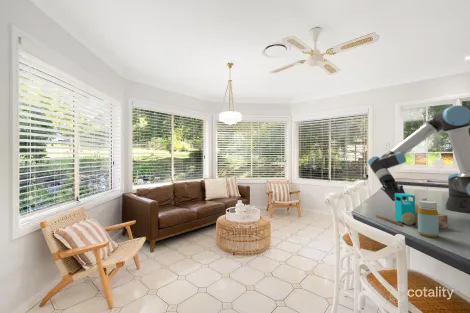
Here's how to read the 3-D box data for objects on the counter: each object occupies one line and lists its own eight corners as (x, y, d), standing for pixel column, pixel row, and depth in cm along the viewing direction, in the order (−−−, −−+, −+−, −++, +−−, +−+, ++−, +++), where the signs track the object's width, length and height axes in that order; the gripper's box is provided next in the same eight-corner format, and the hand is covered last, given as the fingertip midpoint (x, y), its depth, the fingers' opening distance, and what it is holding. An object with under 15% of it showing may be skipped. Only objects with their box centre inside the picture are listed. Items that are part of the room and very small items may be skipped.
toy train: (438, 225, 116) (438, 195, 115) (402, 224, 118) (402, 195, 118) (428, 221, 123) (427, 193, 123) (394, 220, 126) (394, 193, 126)
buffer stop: (438, 225, 117) (438, 213, 117) (447, 227, 112) (447, 215, 112) (412, 226, 115) (412, 214, 115) (421, 229, 111) (420, 216, 111)
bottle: (414, 232, 106) (413, 200, 106) (428, 232, 107) (427, 199, 107) (428, 238, 99) (427, 203, 99) (443, 237, 100) (442, 202, 100)
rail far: (377, 217, 134) (377, 214, 134) (403, 226, 116) (403, 223, 116) (375, 217, 134) (375, 215, 134) (401, 226, 116) (401, 224, 116)
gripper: (391, 181, 146) (415, 214, 129) (372, 181, 144) (392, 215, 128) (398, 173, 140) (423, 206, 124) (378, 173, 139) (400, 207, 123)
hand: (407, 210), depth 126 cm, fingers closed
